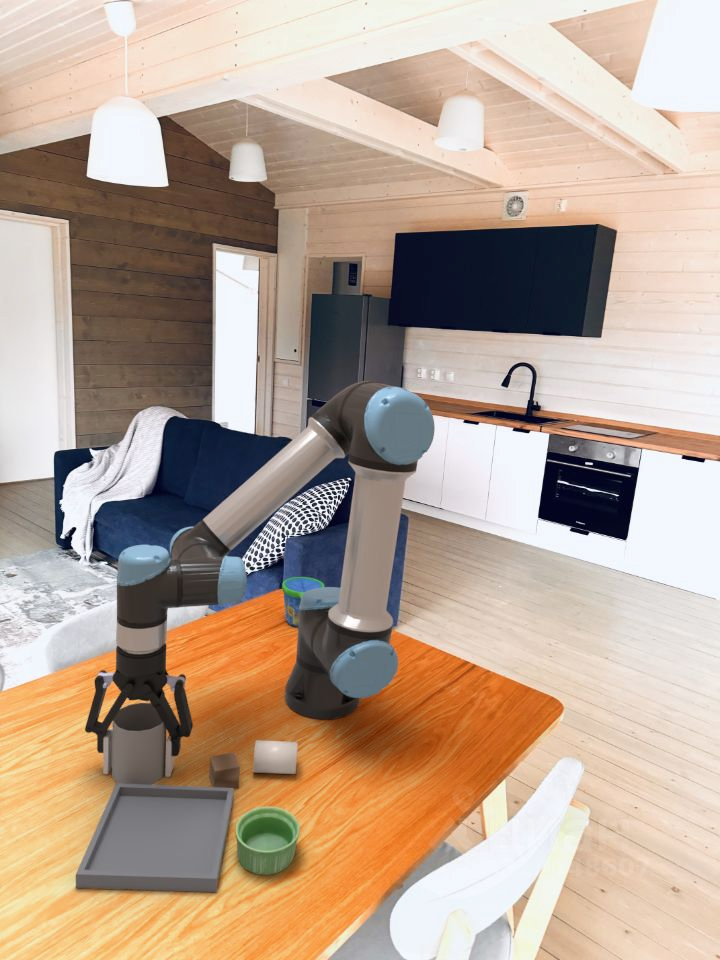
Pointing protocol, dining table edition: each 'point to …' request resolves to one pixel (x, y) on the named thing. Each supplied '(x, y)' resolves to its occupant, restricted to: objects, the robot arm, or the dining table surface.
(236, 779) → the walnut block
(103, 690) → the robot arm
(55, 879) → the dining table surface
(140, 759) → the cup
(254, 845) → the ramekin
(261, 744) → the canister
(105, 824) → the tray
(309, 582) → the snack cup
